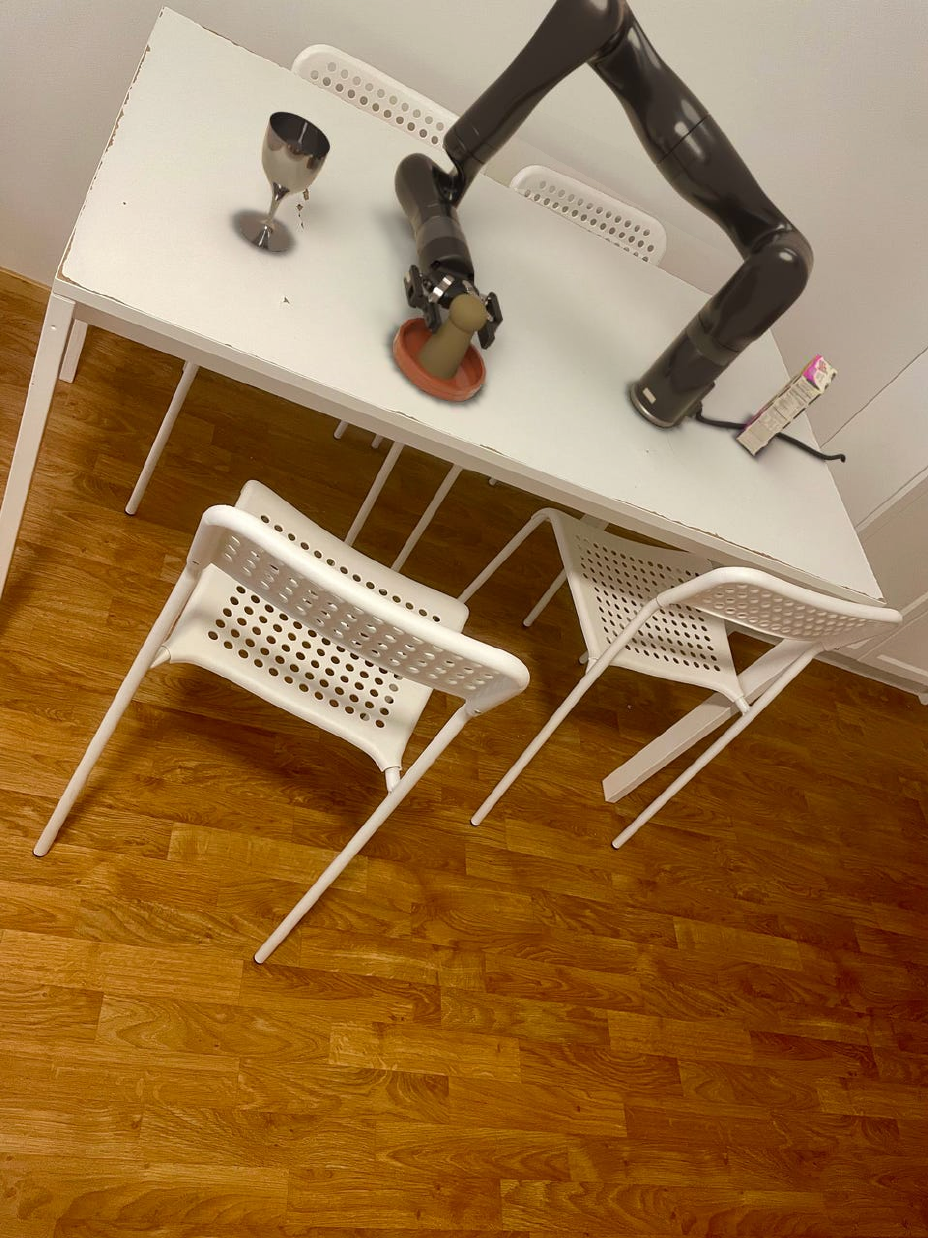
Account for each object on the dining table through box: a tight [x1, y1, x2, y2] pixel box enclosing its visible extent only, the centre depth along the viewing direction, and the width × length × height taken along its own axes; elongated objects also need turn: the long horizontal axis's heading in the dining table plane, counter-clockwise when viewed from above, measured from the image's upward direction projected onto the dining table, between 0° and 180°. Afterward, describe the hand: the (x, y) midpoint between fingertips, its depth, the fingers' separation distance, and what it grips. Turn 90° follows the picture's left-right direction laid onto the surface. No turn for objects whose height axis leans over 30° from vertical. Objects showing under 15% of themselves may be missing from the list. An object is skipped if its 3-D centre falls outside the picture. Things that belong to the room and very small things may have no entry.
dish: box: [392, 316, 487, 402], centre depth 120 cm, size 14×14×2 cm
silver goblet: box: [238, 111, 331, 253], centre depth 112 cm, size 8×8×15 cm
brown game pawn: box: [418, 294, 487, 379], centre depth 117 cm, size 6×6×11 cm
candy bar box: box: [735, 353, 839, 457], centre depth 149 cm, size 11×5×16 cm, turn 144°
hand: (462, 336), depth 115 cm, fingers open, 7 cm apart
